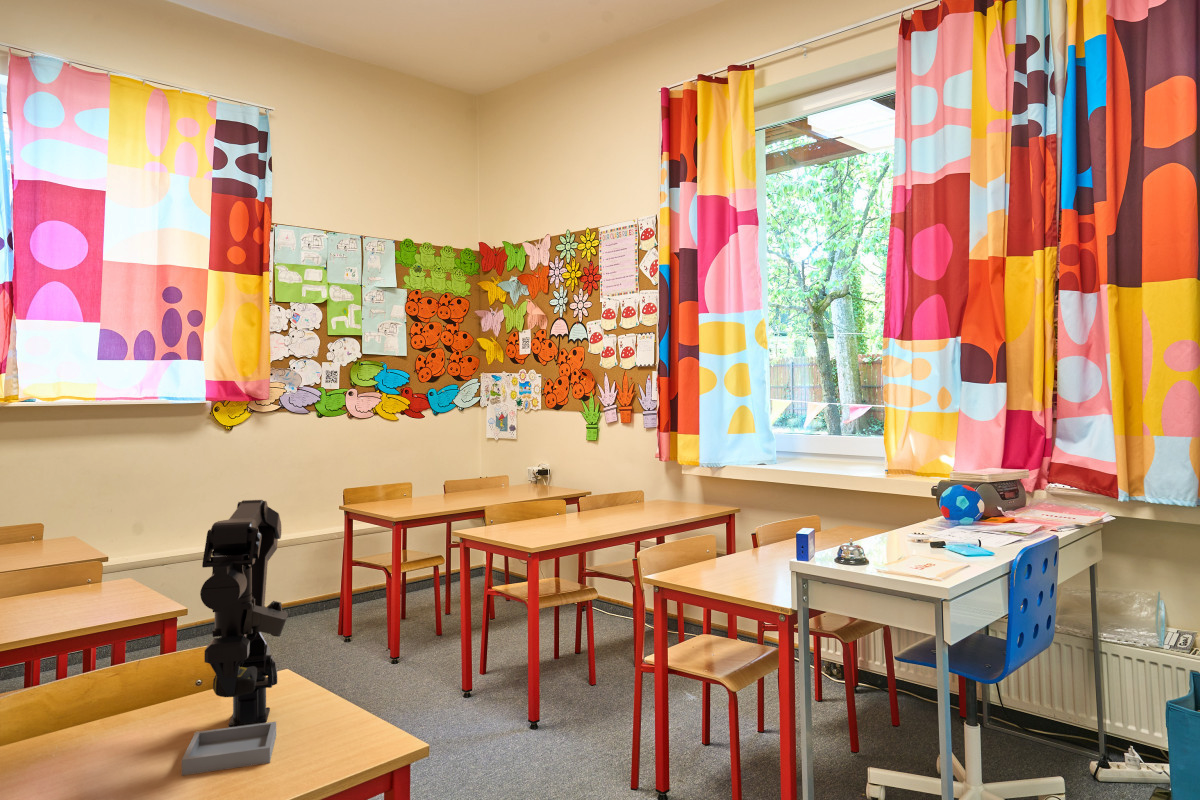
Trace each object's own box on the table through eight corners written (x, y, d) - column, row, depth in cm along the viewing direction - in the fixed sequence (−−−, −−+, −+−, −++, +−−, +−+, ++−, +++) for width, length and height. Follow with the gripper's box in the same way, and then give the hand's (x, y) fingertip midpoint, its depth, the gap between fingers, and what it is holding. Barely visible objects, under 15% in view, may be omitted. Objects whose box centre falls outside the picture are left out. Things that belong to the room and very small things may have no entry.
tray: (195, 746, 130) (195, 731, 130) (276, 735, 134) (276, 721, 134) (181, 775, 119) (181, 759, 119) (269, 762, 123) (269, 747, 123)
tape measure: (255, 698, 125) (255, 676, 125) (209, 704, 123) (209, 681, 123) (259, 684, 131) (259, 663, 131) (216, 689, 129) (216, 667, 129)
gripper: (280, 604, 121) (280, 700, 121) (287, 579, 138) (288, 663, 138) (203, 611, 117) (203, 710, 117) (221, 584, 135) (221, 671, 135)
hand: (233, 686), depth 127 cm, fingers closed on tape measure, 7 cm apart
